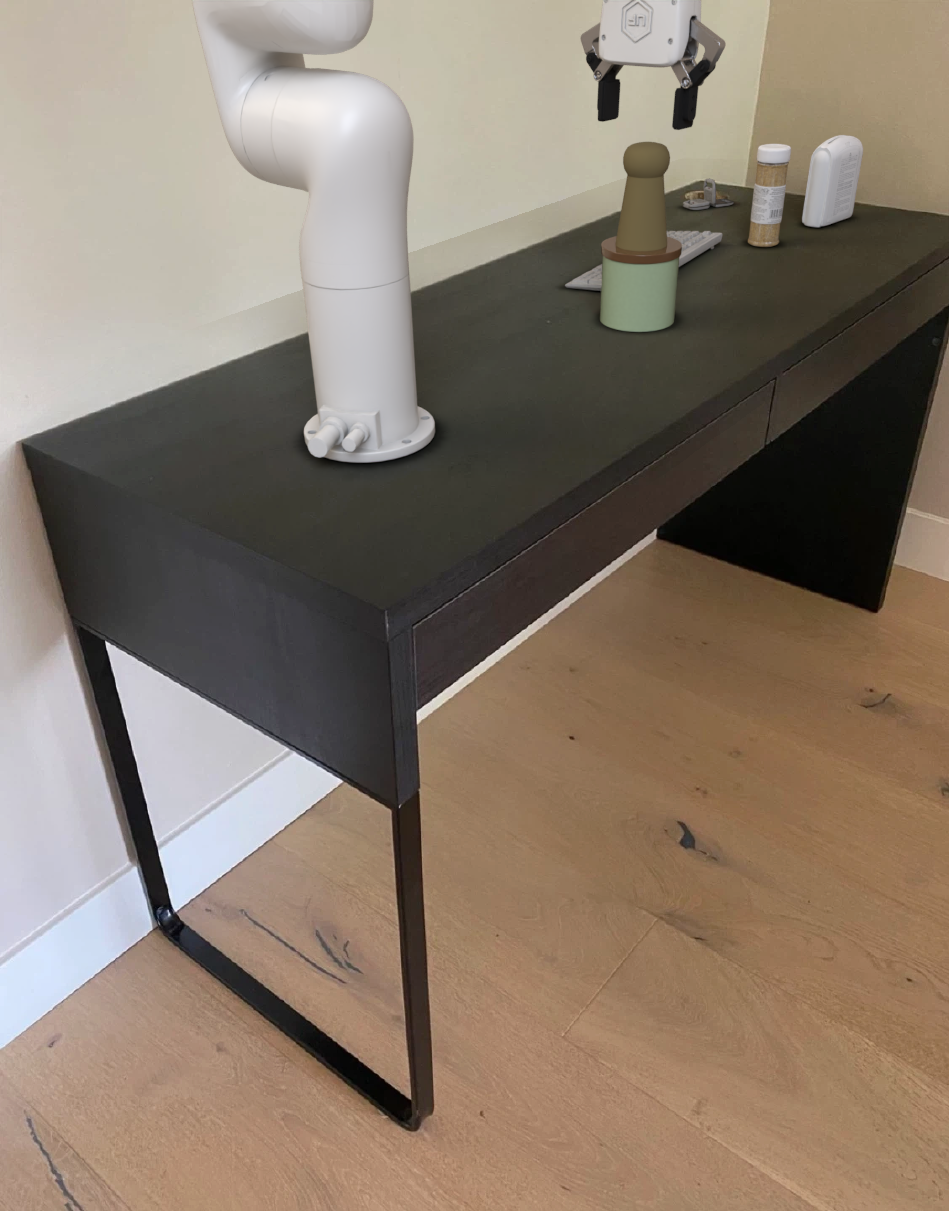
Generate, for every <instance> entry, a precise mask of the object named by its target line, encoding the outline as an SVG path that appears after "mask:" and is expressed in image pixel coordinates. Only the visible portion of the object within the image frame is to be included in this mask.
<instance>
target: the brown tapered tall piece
mask: <svg viewBox="0 0 949 1211" xmlns="http://www.w3.org/2000/svg"><path fill="white" fill-rule="evenodd" d="M670 154H671V153H670V150H669V148H668V147H667V146H666V145H665V144H663V143H661V142H656V141H639V142H635V143H632V144H630V145H628V146H627V147H626V149H625V151H624V152H623V156H622V165H623V169H624V172H625V173H626V179H625V180H626V181H625V187H624V192H623V197H622V202H621V203H622V204H621V210H620V214H619V220H618V227H617V232H616V236H617V237H616V243H615V244H616V246H617V247H619V248H621V249H625V250H630V251H654V250H659V249H662V248H665V247H666V246H667V231H668V229H667V213H666V212H667V210H666V195H665V194H666V193H665V190H666V189H665V174H666V172H667V171H668V169H669V167H670V163H671V155H670Z"/></svg>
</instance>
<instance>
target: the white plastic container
mask: <svg viewBox="0 0 949 1211" xmlns="http://www.w3.org/2000/svg"><path fill="white" fill-rule="evenodd" d="M863 155H864V146H863V143H862V141H861V140H860V139H859V138H858V137H855V136H853V135H846V134H839V135H834V136H833V137H830V138H828V139H826V140H825V141H822V142H821V143H820V144H819V145H818V146H817V147H816V148H815V149H814V150H813V153H812V154H811V156H810V162H809V169H808V176H807V183H806V190H805V195H804V202H803V210H802V216H801V222H802V224H803V225H804V226H806V227H811V228H821V227H826V226H829V225H831V224H835V223H838V222H841V221H844V220H846V219H849V218H851V217H852V215H853V213H854V210H855V209H854V207H855V203H856V202H855V201H856V196H857V192H858V184H859V178H860V173H861V167H862V161H863Z"/></svg>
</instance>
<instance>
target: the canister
mask: <svg viewBox="0 0 949 1211" xmlns="http://www.w3.org/2000/svg"><path fill="white" fill-rule="evenodd" d="M616 237H617V235H615V236H612V237H608V238H606V239H605V240H603V241H602V242H601V243H600V254H601V257H602V258H601V264H602V279H601V291H600V307H599V309H600V310H599V321H600V323H601V324H602V325H603V326H605V327H608V328H610V329H613V330H618V331H622V332H630V333H646V332H647V333H649V332H656V331H660V330H664V329H667V328H669V327H671V326H672V325H673V324H674V322H675V316H676V305H677V304H676V303H677V291H678V280H679V269H680V267H679V257H680V255H681V253H682V243H681V242H680V241H678V240H676V239H674V238H671V237H667V246H666V247H665V248H662V249H659V250H654V251H630V250H625V249H621V248H619V247H617V246H616V244H615V243H616Z"/></svg>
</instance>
